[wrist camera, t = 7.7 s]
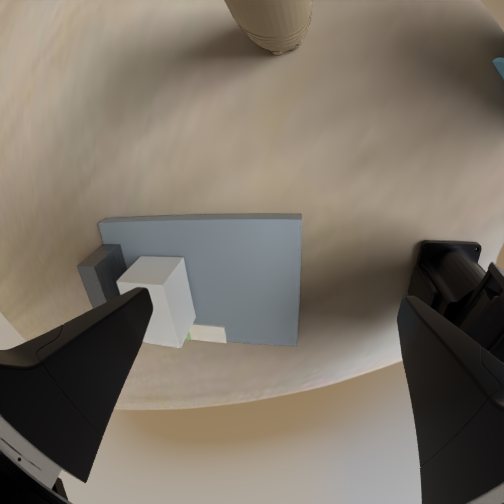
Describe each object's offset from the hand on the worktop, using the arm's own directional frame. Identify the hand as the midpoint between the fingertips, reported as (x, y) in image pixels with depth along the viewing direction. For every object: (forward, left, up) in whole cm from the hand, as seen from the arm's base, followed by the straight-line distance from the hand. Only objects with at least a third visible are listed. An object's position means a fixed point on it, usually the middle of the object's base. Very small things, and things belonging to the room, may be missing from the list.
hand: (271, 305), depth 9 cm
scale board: (+7, +7, -12) cm, 16 cm away
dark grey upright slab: (+15, +7, -11) cm, 20 cm away
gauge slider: (+10, +8, -11) cm, 17 cm away
